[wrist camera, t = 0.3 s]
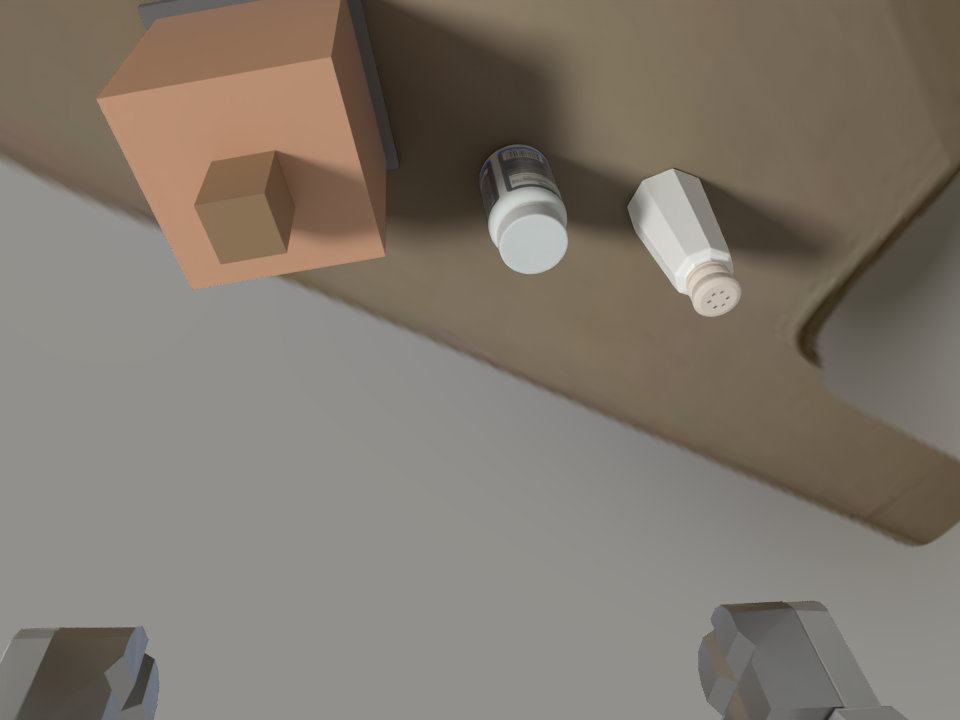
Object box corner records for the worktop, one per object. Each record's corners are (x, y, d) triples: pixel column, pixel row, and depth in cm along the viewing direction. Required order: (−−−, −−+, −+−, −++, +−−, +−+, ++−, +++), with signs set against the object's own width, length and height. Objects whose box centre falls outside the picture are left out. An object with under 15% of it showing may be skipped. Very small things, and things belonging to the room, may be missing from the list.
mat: (139, 4, 39) (137, 7, 39) (352, -34, 39) (352, -32, 39) (221, 196, 47) (219, 200, 47) (399, 164, 47) (399, 168, 46)
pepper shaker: (719, 201, 51) (783, 296, 43) (656, 251, 53) (704, 350, 45) (675, 151, 48) (734, 242, 40) (610, 206, 50) (653, 303, 42)
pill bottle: (511, 221, 50) (528, 293, 44) (463, 177, 48) (475, 247, 42) (565, 175, 48) (591, 245, 42) (518, 127, 46) (539, 193, 40)
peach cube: (156, 19, 39) (65, 140, 28) (342, -15, 39) (324, 93, 28) (226, 188, 46) (175, 339, 35) (386, 160, 46) (384, 303, 35)
